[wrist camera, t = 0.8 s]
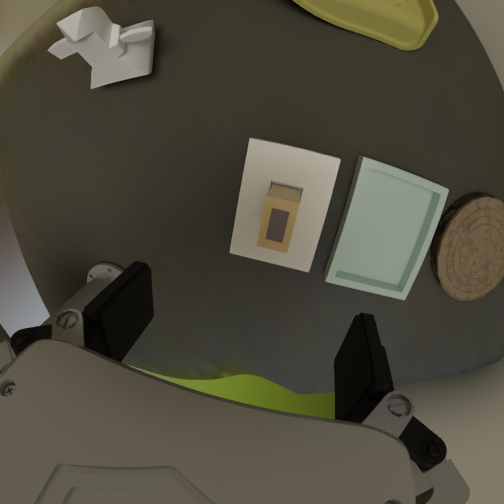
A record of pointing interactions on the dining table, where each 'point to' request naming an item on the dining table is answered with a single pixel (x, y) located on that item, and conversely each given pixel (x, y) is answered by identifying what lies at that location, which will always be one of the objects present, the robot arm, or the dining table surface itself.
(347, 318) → the dining table surface
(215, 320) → the dining table surface
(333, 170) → the block
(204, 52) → the dining table surface
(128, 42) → the white faceted figurine
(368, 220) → the tray
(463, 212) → the wood slice coaster
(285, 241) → the tan rectangular block
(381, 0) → the plastic component
